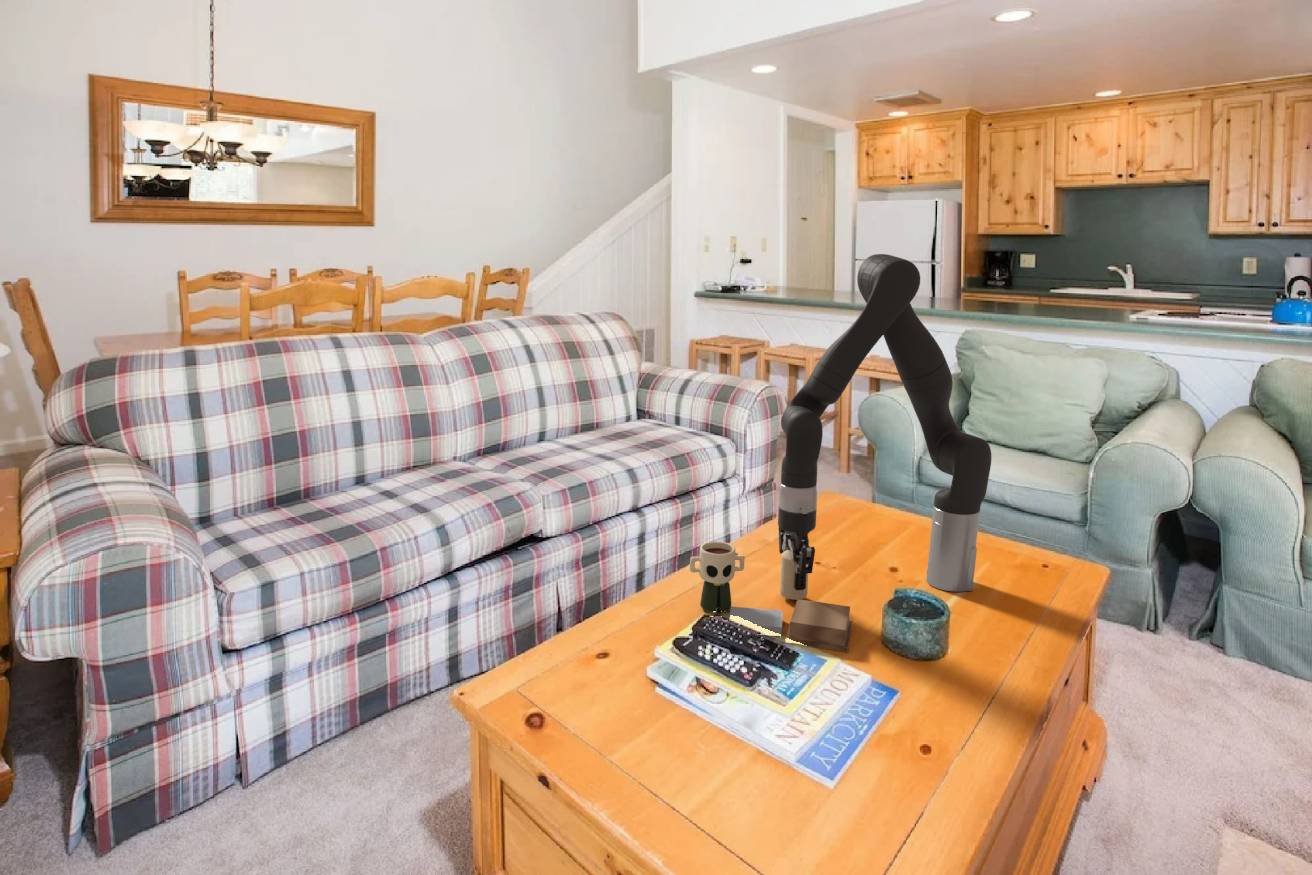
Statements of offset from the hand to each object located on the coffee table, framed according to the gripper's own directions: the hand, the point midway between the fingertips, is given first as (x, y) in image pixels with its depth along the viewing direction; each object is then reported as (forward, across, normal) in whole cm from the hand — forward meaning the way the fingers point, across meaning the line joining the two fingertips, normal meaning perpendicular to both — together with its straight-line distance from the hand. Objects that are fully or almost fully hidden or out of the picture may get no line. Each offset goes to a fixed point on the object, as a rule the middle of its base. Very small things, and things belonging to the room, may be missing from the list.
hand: (794, 582), depth 165 cm
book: (+3, +10, -12) cm, 16 cm away
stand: (+4, +15, -1) cm, 15 cm away
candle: (+3, 0, 0) cm, 3 cm away
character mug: (+4, +1, -17) cm, 17 cm away
